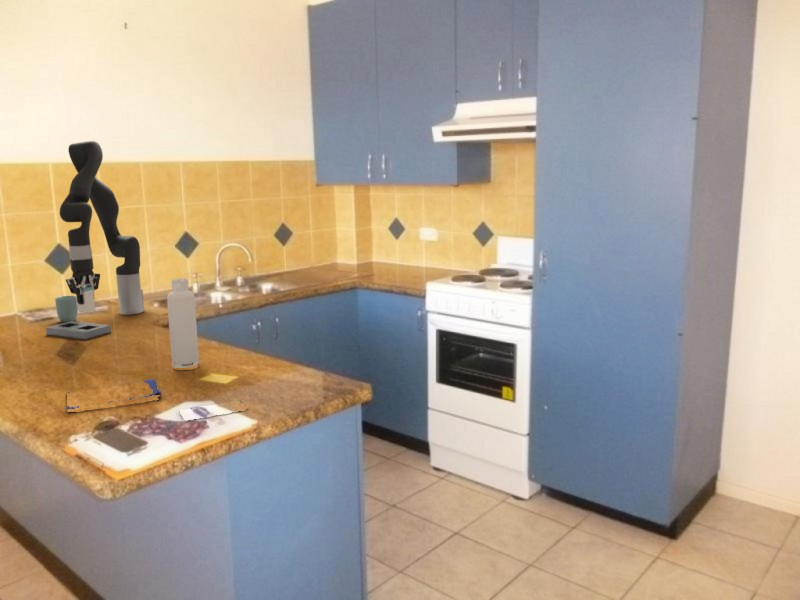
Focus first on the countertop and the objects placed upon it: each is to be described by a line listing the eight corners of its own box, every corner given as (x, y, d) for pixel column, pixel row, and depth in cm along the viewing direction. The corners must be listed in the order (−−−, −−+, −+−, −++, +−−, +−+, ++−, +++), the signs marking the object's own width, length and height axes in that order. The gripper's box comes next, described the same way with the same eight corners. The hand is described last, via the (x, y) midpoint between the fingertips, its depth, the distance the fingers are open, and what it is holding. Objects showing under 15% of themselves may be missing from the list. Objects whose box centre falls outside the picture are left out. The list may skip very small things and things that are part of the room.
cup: (70, 323, 271) (67, 299, 269) (53, 323, 273) (50, 299, 271) (83, 319, 279) (80, 295, 277) (66, 318, 280) (64, 295, 278)
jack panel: (73, 328, 264) (72, 320, 263) (111, 332, 256) (110, 325, 255) (46, 335, 253) (45, 327, 252) (85, 340, 245) (84, 332, 244)
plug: (87, 309, 253) (85, 286, 252) (95, 310, 252) (92, 287, 250) (78, 312, 250) (76, 288, 248) (86, 312, 248) (84, 289, 246)
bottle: (204, 364, 214) (198, 278, 209) (188, 372, 207) (182, 282, 201) (183, 362, 217) (176, 276, 211) (167, 369, 209) (159, 281, 204)
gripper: (89, 254, 254) (94, 298, 258) (57, 259, 242) (62, 306, 245) (104, 255, 251) (108, 300, 255) (72, 260, 239) (77, 307, 242)
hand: (86, 302), depth 250 cm, fingers closed on plug, 4 cm apart
